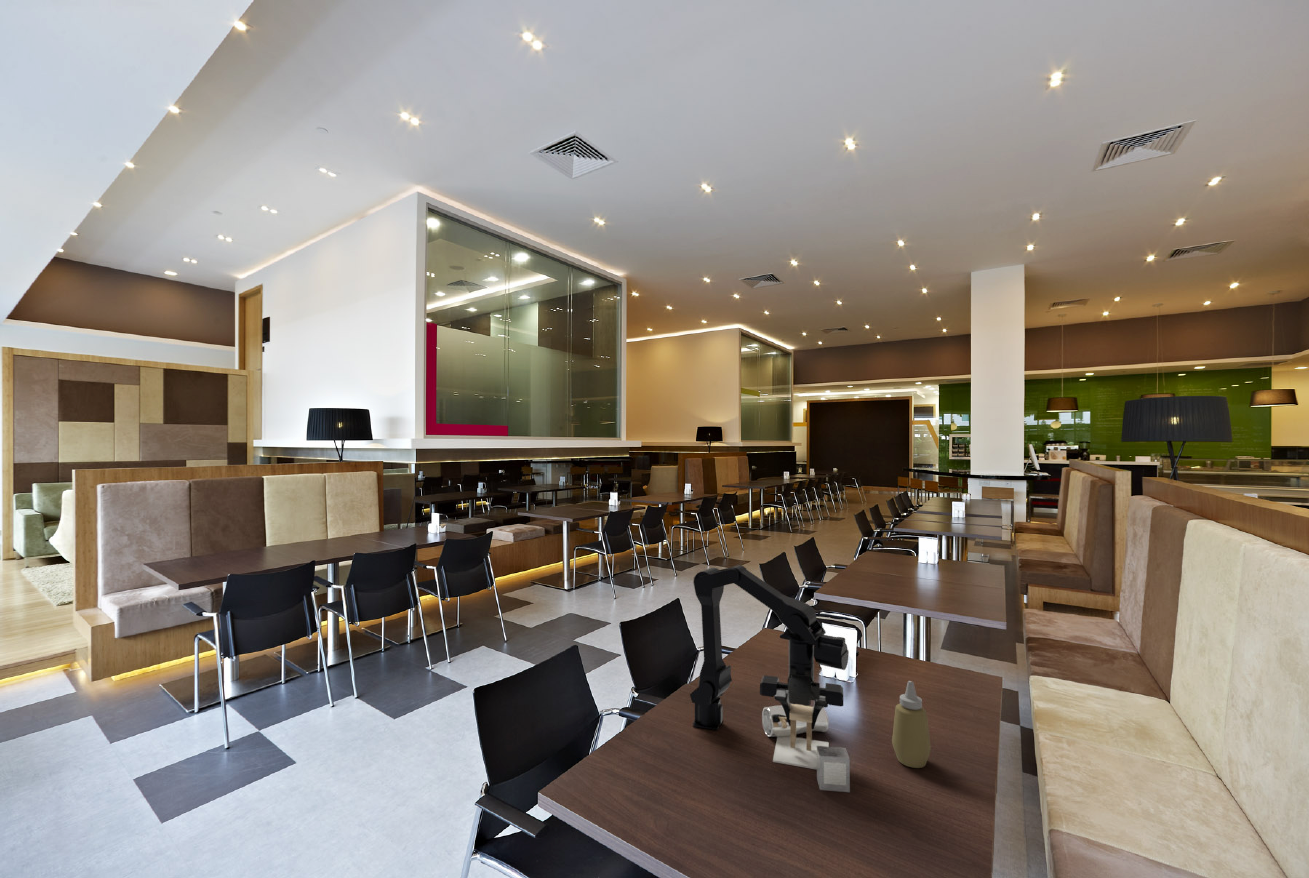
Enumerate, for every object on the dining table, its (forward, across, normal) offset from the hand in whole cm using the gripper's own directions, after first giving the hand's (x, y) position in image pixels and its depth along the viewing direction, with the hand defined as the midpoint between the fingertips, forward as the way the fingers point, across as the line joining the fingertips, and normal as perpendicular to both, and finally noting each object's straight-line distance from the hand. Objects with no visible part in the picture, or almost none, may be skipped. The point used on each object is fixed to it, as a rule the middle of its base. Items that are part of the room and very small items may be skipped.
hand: (801, 726), depth 129 cm
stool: (+4, 0, 0) cm, 4 cm away
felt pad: (+6, 0, 0) cm, 6 cm away
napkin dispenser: (+6, +7, -11) cm, 14 cm away
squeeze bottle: (+6, +24, +4) cm, 25 cm away
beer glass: (+3, +5, +13) cm, 14 cm away
